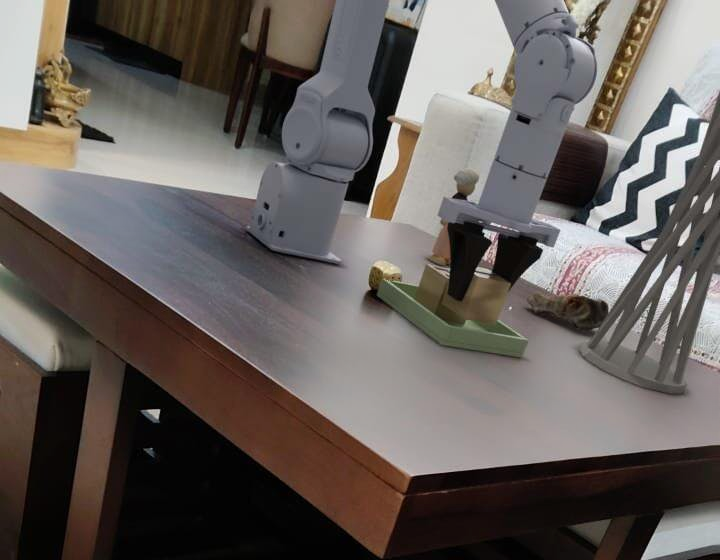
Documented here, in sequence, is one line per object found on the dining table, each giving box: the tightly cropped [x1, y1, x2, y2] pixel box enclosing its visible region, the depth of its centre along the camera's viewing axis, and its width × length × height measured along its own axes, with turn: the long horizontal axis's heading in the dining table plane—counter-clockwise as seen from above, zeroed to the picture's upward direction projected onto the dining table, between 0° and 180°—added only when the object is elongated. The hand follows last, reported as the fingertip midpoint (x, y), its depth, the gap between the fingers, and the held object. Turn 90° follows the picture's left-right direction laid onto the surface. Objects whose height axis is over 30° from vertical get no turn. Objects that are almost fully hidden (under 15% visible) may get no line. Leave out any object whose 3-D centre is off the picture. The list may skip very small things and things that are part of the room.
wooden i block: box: [442, 266, 511, 325], centre depth 106 cm, size 4×4×5 cm
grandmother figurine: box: [427, 167, 480, 267], centre depth 138 cm, size 8×4×13 cm, turn 168°
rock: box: [526, 292, 610, 331], centre depth 131 cm, size 9×6×10 cm
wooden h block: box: [414, 263, 466, 324], centre depth 110 cm, size 4×4×5 cm
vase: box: [578, 90, 720, 395], centre depth 112 cm, size 14×13×35 cm
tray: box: [376, 278, 530, 358], centre depth 110 cm, size 11×14×2 cm
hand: (472, 301), depth 106 cm, fingers closed on wooden i block, 4 cm apart
